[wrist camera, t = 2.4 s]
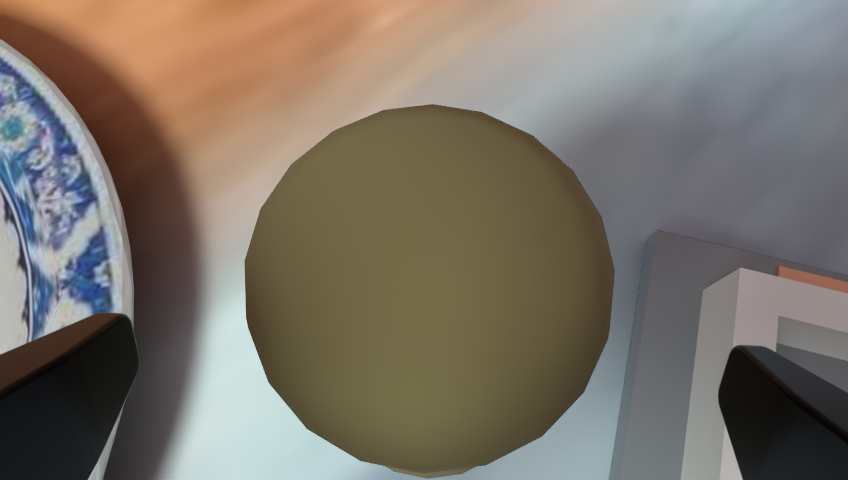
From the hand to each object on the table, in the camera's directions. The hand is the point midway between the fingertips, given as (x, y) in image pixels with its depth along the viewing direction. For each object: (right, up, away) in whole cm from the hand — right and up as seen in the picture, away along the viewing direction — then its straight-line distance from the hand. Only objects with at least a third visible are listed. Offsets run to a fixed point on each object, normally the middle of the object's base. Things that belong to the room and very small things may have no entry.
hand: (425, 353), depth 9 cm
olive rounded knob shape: (0, -2, +9) cm, 9 cm away
